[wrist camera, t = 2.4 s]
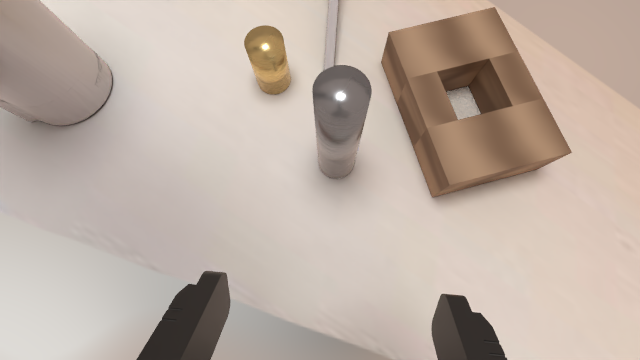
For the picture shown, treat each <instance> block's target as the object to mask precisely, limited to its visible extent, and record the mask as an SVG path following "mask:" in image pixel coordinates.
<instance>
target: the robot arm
mask: <svg viewBox="0 0 640 360" xmlns="http://www.w3.org/2000/svg"><path fill="white" fill-rule="evenodd" d="M111 86H112V75H111V71H110V69H109V67H108V65H107V64H106V63H105V62H104V61H103V60H102V59H101V58H100V57H99V56H98V55H97V54H96V53H95V52H94V51H93V50H92V49H91V48H90V47H88V46H87V45H86V44H85V43H84V42H83V41H82V40H81V39H80V38H79V37H78V36H77V35H76V34H75V33H74V32H73V31H72V30H71V29H70V28H68V27H67V26H66V25H65V24H64V23H63V22H62V21H61V20H60V19H59V18H58V17H57V16H56V15H55V14H54V13H53V12H51V11H50V10H49V9H48V8H47V7H46V6H45V5H44V4H43V3H42V2H41V1H40V0H0V107H1V108H3V109H5V110H7V111H9V112H11V113H13V114H15V115H17V116H19V117H21V118H23V119H25V120H27V121H29V122H32V121H36V120H40V121H43V122H45V123H48V124H51V125H58V126H59V125H70V124H74V123H77V122H80V121H82V120H84V119H86V118H88V117H89V116H91V115H93V114H94V113H95V112H96V111H97V110H98V109H99V108H100V107H101V106H102V105H103V104H104V102H105V101H106V99H107V97H108V95H109V93H110V90H111ZM229 308H230V295H229V288H228V281H227V275H226V273H223V272H213V271H205V272H204V273H203V274H202V276H201V278H200V279H199V281H198V283H197V285H193V284H188V285H187V286H186V287H185V288H184V289H182V290H181V291H180V292H179V293H178V294H177V295H176V296H175V298H174V299H173V301H172V303H171V305H170V306H169V309H168V310H167V311H166V313H165V314H164V316H163V317H162V321H160V322H159V324H158V326H157V327H156V329H155V331H154V332H153V334H152V335H151V337H150V339H149V341H148V342H147V344H146V345H145V347H144V349H143V350H142V352H141V353H140V355H139V357H138V358H137V360H210V359H211V357H212V354H213V352H214V349H215V347H216V344H217V342H218V339H219V337H220V334H221V332H222V329H223V327H224V324H225V322H226V319H227V317H228V314H229ZM432 337H433V342H434V346H435V350H436V354H437V358H438V360H507V358H505V354H504V351H503V349H502V347H501V345H499V340H498V338H497V336H496V334H495V331H494V329H493V327H492V326H491V325H490V323H489V322H488V321H487V320H486V319H485V318H484V317H483V315H482V314H481V313H475V312H472V311H471V308H470V306H469V303H468V301H467V299H466V297H465V296H461V295H450V294H442V295H441V296H440V299H439V302H438V305H437V308H436V311H435V314H434V317H433V321H432Z"/></svg>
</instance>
